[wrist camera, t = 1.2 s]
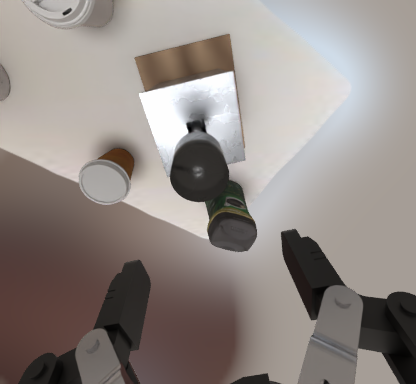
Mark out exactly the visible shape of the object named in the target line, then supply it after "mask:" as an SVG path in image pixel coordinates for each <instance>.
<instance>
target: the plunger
mask: <svg viewBox="0 0 416 384" xmlns="http://www.w3.org/2000/svg"><path fill="white" fill-rule="evenodd" d="M187 127H188V131H189V134H186V135H185V136H183V137H182V138H181V139H180V140H179V141H178V143H177V145H176V147H175V151H174V156H173V161H172V166H171V171H170V181H171V184H172V186H173V188H174V190H175V191H176V192H177V193H178V194H179V195H180V196H181V197H183V198H185V199H187V200H190V201H194V202H204V201H209V200H212V199H214V198H216V197H217V196H219V195H220V194H221V193H222V192H223V191H224V189H225V188H226V186H227V184H228V180H229V170H228V166H227V163H226V160H225V157H224V154H223V151H222V148H221V146H220V144H219V142H218V141H217V139H216V138H215V137H213V136H212V135H210V134H208V133H207V131H206V126H205V122H204V119H200V120H196V121H191V122H187Z"/></svg>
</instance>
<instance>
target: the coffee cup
mask: <svg viewBox="0 0 416 384" xmlns="http://www.w3.org/2000/svg"><path fill="white" fill-rule="evenodd" d="M22 1H23V3H24V4H25V5H26V6H27V8H28V9H29V10H30V11H31V12H32V13H33V14H34V15H35V16H37V17H38V18H39V19H41V20H42V21H43V22H45V23H47V24H49V25H51V26H53V27H56V28H60V29H73V28H76V27H79V26H92V27H101V26H104V25H106V24H107V23H109V21H110V20H111V18H112V15H113V1H112V0H22Z"/></svg>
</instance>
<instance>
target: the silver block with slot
mask: <svg viewBox="0 0 416 384" xmlns="http://www.w3.org/2000/svg"><path fill="white" fill-rule="evenodd" d="M139 95H140V98H141V101H142V104H143V107H144V110H145V113H146V116H147V119H148V122H149V124H150V127H151V130H152V133H153V136H154V139H155V142H156V145H157V148H158V151H159V154H160V157H161V160H162V163H163V166H164V169H165V171H166V174H167V177H170V171H171V166H172V161H173V156H174V151H175V147H176V145H177V143H178V141H179V140H180V139H181V138H182V137H183V136H185V135H186V134H189V131H188V127H187V122H191V121H196V120H200V119H204V122H205V126H206V131H207V133H208V134H210V135H212V136H213V137H215V138H216V139H217V141H218V142H219V144H220V146H221V148H222V151H223V154H224V157H225V160H226V163H227V164H231V163H235V162H240V161H244V160H245V153H244V146H243V138H242V131H241V124H240V116H239V109H238V102H237V95H236V87H235V80H234V73H233V71H228V72H227V71H224V70H222V69H219V68H218V69H214V70H210V71H206V72H202V73H198V74H194V75H189V76H185V77H181V78H177V79H173V80H169V81H165V82H161V83H158V84H156V85H155V86H153V87H152V88H151V89H149V90H148V91H145V92H141V93H140V94H139Z"/></svg>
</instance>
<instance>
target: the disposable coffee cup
mask: <svg viewBox="0 0 416 384" xmlns="http://www.w3.org/2000/svg"><path fill="white" fill-rule="evenodd" d="M133 166H134V160H133V157H132V156H131V154H130V153H129V152H127V151H126V150H124V149H118V148H117V149H113V150H111V151H109V152H108V153H106V154H104V155H103V156H101V157H100V158H98V159H96V160H93V161H90V162H88V163H87V164H85V165H84V166H83V167H82V169H81V170H80V173H79V185H80V188H81V190H82V192H83V193H84V194H85V195H86V196H87V197H88V198H89V199H90V200H92V201H94V202H96V203H99V204H104V205H110V204H115V203H117V202H119V201H121V200H123V199H124V198H125V197H126V196H127V195H128V194H129V191H130V188H131V183H130V180H131V175H132V171H133Z"/></svg>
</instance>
